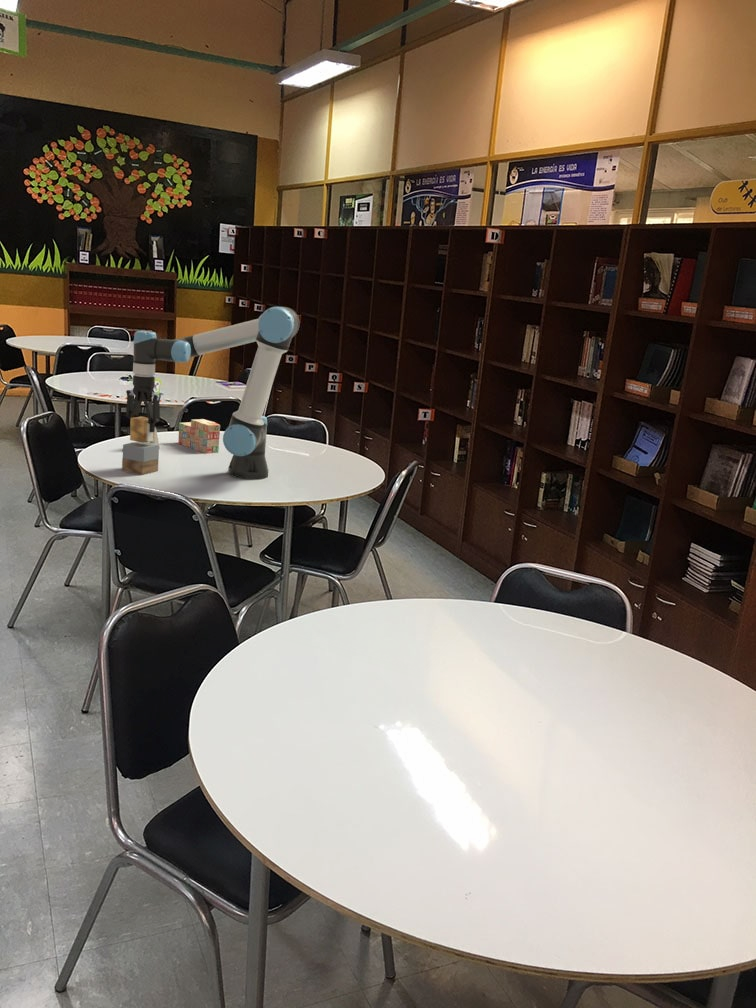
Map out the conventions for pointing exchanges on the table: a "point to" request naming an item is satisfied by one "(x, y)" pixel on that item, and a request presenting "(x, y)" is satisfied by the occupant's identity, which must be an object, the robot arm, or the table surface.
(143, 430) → the ochre block
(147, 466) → the tower bottom block
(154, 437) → the electrical switch
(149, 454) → the tower top block
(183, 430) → the stack of blocks
